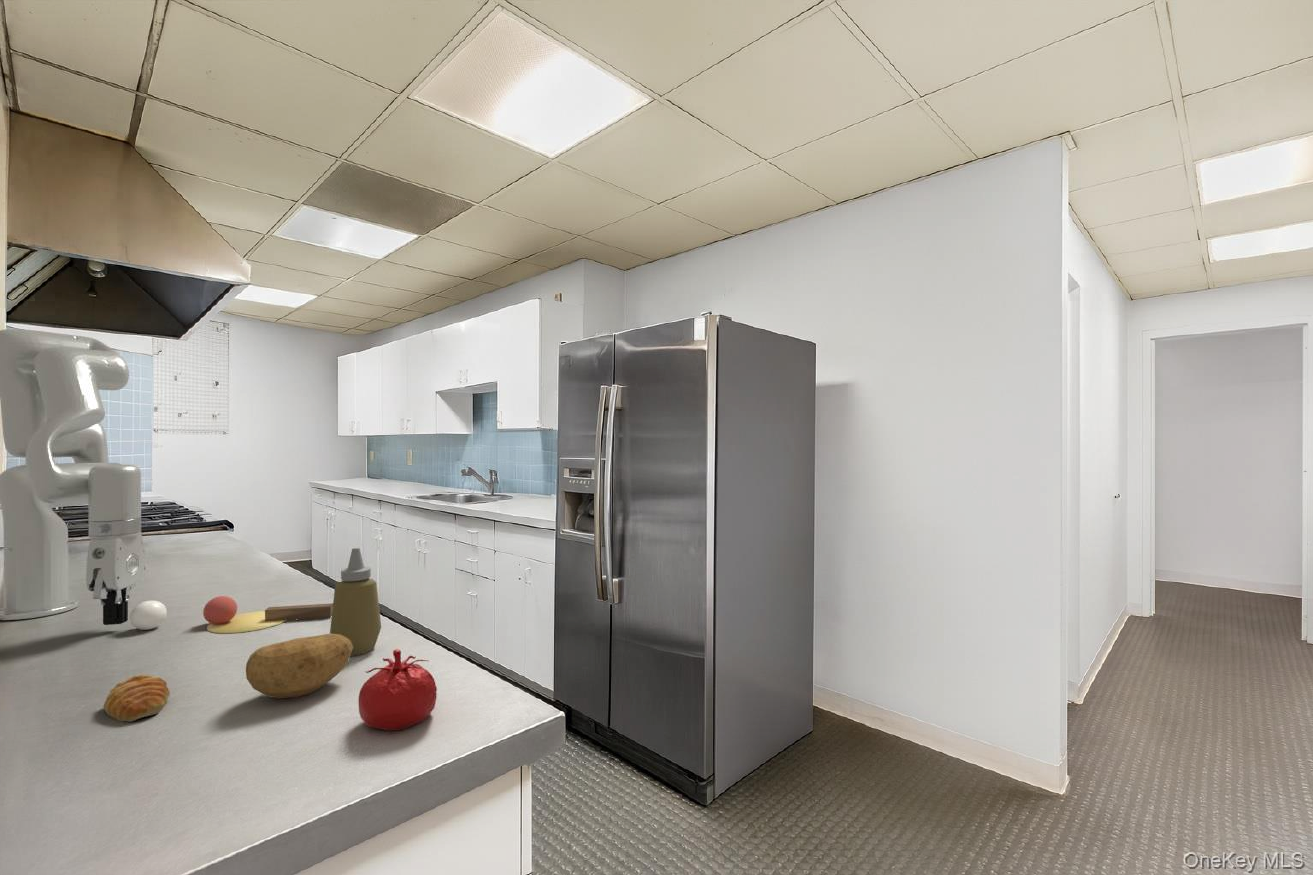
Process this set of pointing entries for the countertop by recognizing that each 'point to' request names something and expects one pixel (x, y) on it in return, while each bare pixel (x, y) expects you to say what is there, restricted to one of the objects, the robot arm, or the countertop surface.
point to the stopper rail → (299, 612)
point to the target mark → (244, 623)
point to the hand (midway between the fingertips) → (115, 622)
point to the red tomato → (397, 695)
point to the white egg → (148, 615)
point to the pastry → (137, 698)
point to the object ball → (220, 610)
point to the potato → (297, 665)
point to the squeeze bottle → (356, 606)
